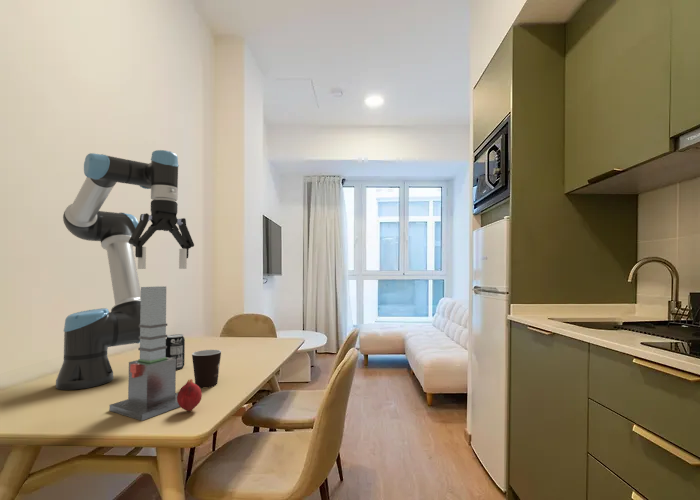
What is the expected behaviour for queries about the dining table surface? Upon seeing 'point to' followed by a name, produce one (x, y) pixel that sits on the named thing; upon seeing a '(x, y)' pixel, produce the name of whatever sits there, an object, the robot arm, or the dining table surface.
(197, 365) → the coffee mug
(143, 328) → the column
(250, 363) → the dining table surface
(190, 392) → the onion
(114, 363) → the dining table surface
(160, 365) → the stand
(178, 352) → the beverage can
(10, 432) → the dining table surface
